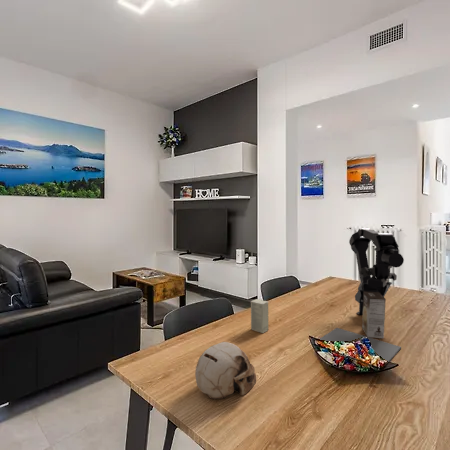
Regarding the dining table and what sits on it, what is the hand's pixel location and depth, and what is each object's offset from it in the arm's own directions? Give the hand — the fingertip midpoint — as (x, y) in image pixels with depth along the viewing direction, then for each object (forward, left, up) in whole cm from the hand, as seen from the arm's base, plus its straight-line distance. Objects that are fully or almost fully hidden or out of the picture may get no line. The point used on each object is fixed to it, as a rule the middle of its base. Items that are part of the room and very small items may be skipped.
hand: (381, 298), depth 127 cm
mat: (+26, 0, -12) cm, 29 cm away
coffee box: (+10, 0, -12) cm, 16 cm away
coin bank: (+77, -16, -12) cm, 80 cm away
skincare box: (+41, -34, -12) cm, 54 cm away
